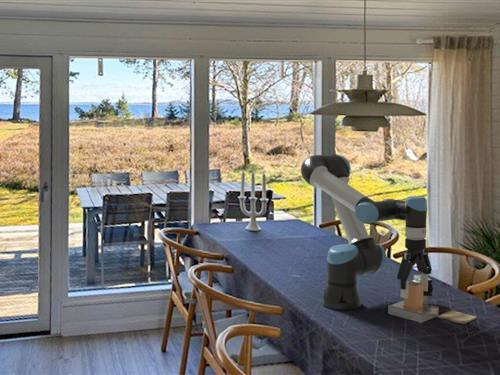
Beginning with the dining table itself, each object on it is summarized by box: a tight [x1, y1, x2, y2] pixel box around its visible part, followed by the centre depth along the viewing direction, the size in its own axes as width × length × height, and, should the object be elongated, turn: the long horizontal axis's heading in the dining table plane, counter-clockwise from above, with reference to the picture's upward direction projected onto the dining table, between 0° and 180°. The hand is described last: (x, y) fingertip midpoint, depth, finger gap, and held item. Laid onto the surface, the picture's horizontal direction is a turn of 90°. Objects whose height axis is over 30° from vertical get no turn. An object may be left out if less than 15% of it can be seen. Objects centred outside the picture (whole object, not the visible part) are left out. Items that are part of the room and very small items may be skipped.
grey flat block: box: [387, 300, 440, 324], centre depth 217 cm, size 14×12×3 cm
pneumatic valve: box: [411, 274, 434, 304], centre depth 229 cm, size 6×12×12 cm, turn 2°
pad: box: [437, 310, 478, 325], centre depth 213 cm, size 10×10×1 cm
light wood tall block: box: [403, 280, 424, 311], centre depth 216 cm, size 5×5×12 cm
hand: (414, 294), depth 216 cm, fingers open, 13 cm apart
